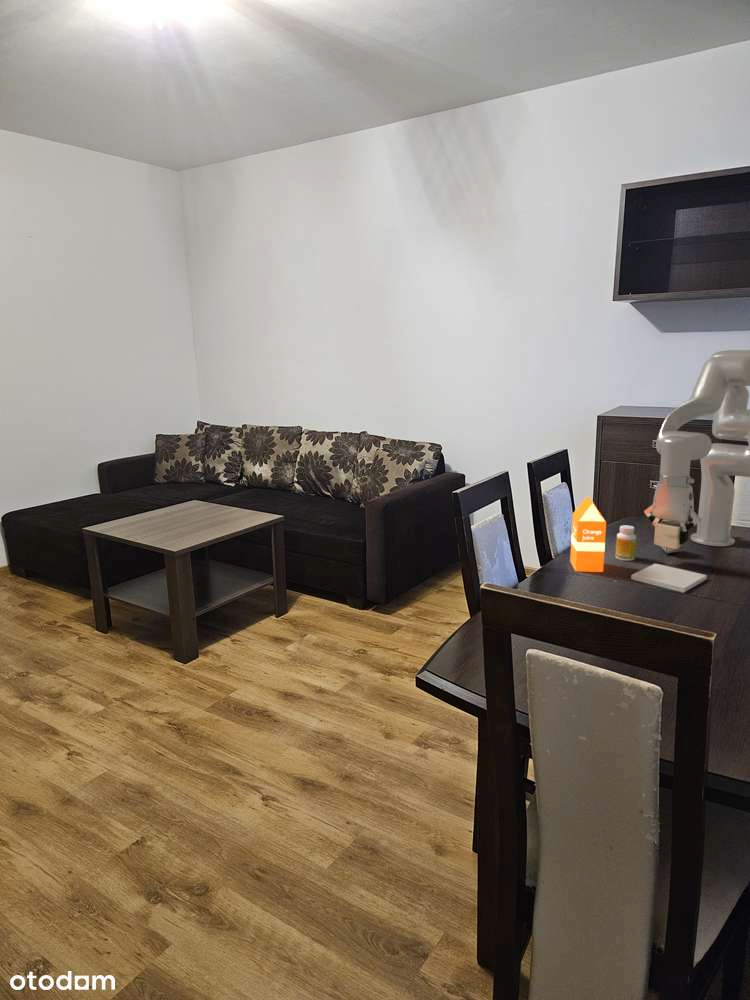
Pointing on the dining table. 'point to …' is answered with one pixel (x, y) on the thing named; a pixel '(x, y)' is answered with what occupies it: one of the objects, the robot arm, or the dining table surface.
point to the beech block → (667, 534)
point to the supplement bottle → (626, 543)
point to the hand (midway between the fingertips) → (670, 540)
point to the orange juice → (588, 538)
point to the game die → (670, 549)
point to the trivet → (669, 577)
